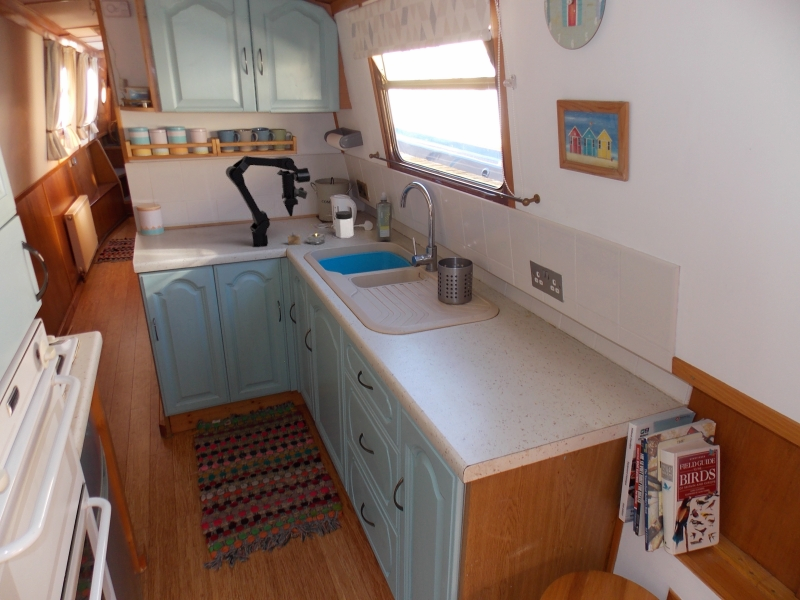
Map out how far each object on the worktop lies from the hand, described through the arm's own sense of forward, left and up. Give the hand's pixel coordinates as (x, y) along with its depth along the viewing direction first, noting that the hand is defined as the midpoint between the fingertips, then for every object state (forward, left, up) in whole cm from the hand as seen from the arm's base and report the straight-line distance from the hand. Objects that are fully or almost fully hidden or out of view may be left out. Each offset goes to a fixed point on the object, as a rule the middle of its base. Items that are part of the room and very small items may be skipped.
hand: (291, 216), depth 275 cm
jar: (+26, 0, -12) cm, 29 cm away
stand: (0, -8, -12) cm, 14 cm away
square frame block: (+10, -8, -11) cm, 17 cm away
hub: (+10, -8, -12) cm, 18 cm away
